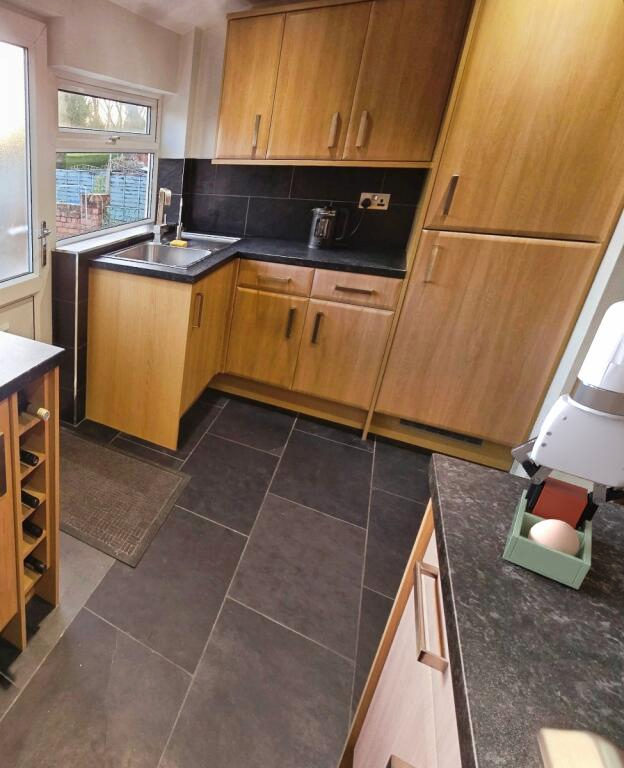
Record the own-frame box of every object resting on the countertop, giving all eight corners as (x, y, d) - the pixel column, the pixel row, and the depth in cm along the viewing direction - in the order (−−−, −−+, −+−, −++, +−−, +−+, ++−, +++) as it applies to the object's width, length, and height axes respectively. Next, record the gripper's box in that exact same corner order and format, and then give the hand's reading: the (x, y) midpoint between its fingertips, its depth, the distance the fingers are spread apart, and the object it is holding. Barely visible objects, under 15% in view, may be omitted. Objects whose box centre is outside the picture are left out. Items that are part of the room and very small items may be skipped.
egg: (526, 537, 71) (543, 504, 68) (571, 558, 67) (592, 525, 64) (516, 554, 68) (534, 521, 65) (563, 577, 64) (584, 543, 61)
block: (574, 515, 71) (588, 489, 70) (573, 530, 68) (587, 502, 66) (534, 501, 74) (546, 475, 72) (531, 515, 71) (544, 488, 69)
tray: (581, 533, 73) (592, 512, 71) (578, 589, 62) (591, 565, 61) (515, 509, 78) (524, 489, 76) (502, 558, 67) (512, 535, 66)
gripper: (700, 410, 61) (634, 529, 69) (530, 372, 72) (487, 478, 79) (710, 430, 56) (636, 556, 63) (525, 386, 67) (479, 498, 74)
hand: (554, 512), depth 71 cm, fingers closed on block, 4 cm apart
